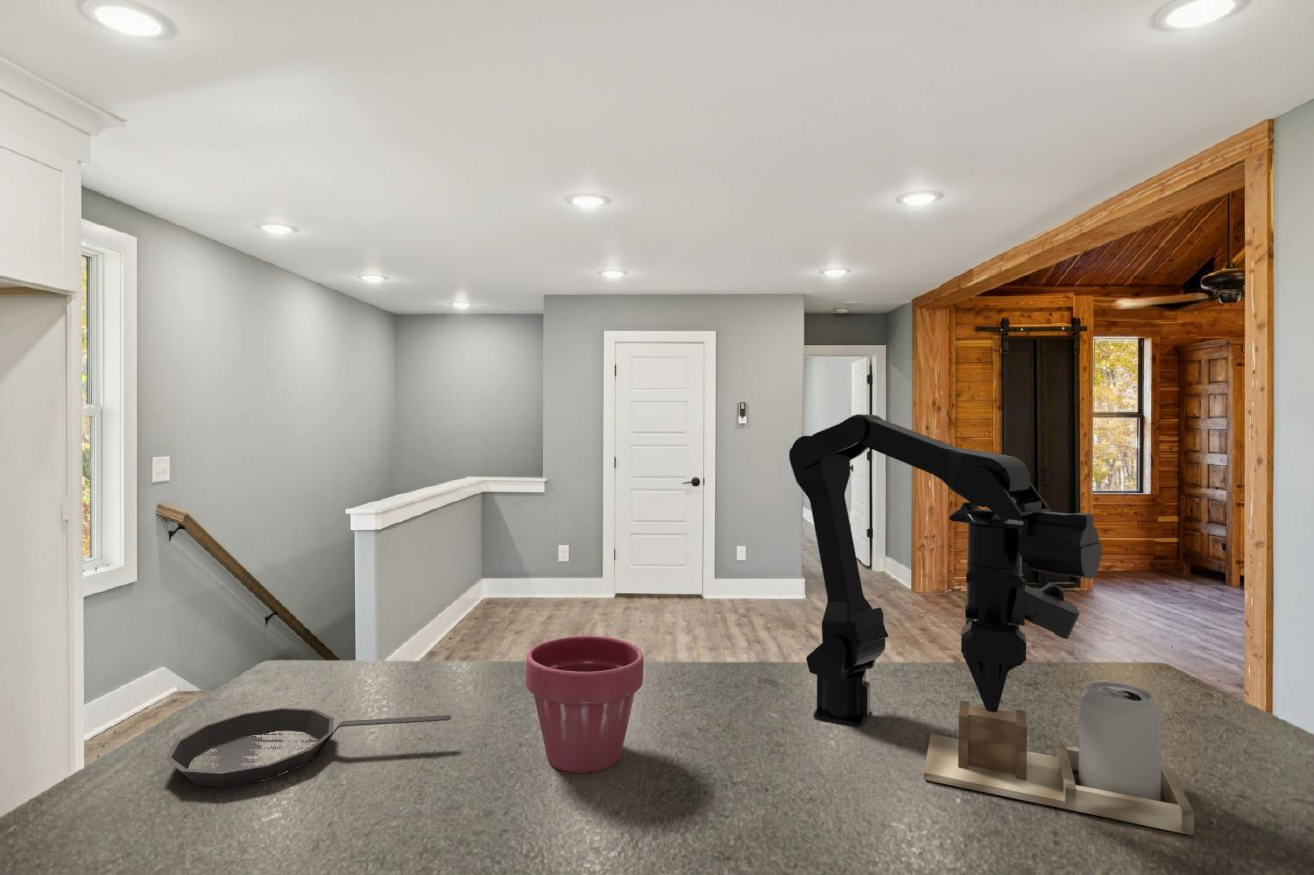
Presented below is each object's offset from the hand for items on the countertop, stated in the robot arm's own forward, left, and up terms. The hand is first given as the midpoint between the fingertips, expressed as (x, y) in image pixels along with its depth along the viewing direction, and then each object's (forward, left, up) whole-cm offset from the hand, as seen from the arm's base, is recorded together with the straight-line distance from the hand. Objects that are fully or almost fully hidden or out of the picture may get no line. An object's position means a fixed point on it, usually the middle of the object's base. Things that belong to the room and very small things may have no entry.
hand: (991, 696), depth 82 cm
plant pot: (-45, -17, -9) cm, 49 cm away
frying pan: (-75, -31, -9) cm, 82 cm away
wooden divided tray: (+5, 0, -9) cm, 10 cm away
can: (+13, 0, -9) cm, 16 cm away
